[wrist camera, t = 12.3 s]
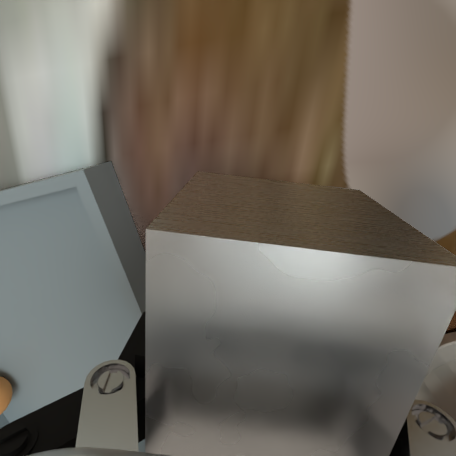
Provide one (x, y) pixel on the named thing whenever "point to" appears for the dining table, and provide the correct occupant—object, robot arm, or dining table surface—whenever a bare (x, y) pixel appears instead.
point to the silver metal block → (287, 320)
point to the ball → (5, 394)
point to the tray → (65, 284)
